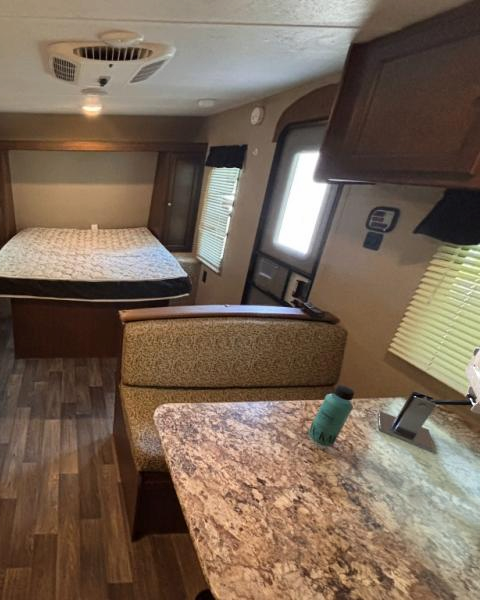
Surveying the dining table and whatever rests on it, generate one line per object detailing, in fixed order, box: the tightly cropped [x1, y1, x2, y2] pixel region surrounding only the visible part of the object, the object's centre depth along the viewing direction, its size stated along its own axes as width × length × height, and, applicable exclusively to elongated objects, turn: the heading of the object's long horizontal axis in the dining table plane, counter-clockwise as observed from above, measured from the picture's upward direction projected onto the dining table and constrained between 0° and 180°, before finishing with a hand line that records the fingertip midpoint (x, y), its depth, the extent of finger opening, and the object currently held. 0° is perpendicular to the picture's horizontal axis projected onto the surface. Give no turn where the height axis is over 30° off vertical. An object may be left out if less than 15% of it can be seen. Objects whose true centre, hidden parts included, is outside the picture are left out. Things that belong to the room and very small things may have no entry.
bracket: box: [377, 389, 437, 453], centre depth 96 cm, size 12×10×14 cm
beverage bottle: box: [308, 384, 355, 447], centre depth 90 cm, size 6×7×20 cm
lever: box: [413, 396, 477, 406], centre depth 91 cm, size 12×5×2 cm, turn 49°
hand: (471, 405), depth 88 cm, fingers closed on lever, 5 cm apart
